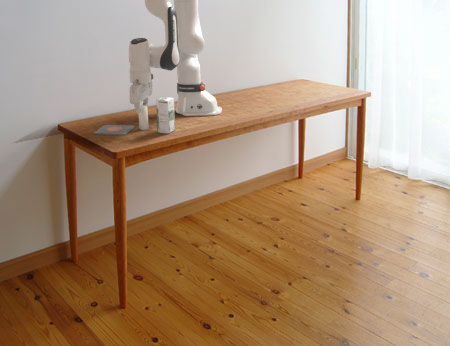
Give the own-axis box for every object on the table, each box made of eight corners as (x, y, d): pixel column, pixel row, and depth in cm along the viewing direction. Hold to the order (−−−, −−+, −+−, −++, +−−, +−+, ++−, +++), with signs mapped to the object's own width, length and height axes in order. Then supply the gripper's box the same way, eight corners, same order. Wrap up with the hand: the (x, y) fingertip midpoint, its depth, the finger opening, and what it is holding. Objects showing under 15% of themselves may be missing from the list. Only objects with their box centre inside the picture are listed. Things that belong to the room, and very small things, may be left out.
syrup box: (163, 129, 239) (161, 96, 234) (175, 130, 237) (174, 97, 232) (157, 132, 234) (155, 99, 229) (169, 134, 232) (167, 100, 227)
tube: (149, 127, 241) (148, 105, 238) (147, 130, 238) (145, 107, 234) (141, 127, 242) (139, 105, 239) (138, 130, 238) (136, 107, 235)
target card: (135, 127, 243) (134, 125, 243) (125, 135, 231) (124, 133, 231) (105, 126, 245) (105, 124, 245) (93, 134, 233) (93, 132, 233)
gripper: (139, 82, 222) (141, 116, 226) (154, 74, 241) (155, 105, 245) (124, 82, 223) (126, 115, 227) (140, 73, 242) (142, 104, 246)
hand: (141, 109), depth 237 cm, fingers open, 8 cm apart
